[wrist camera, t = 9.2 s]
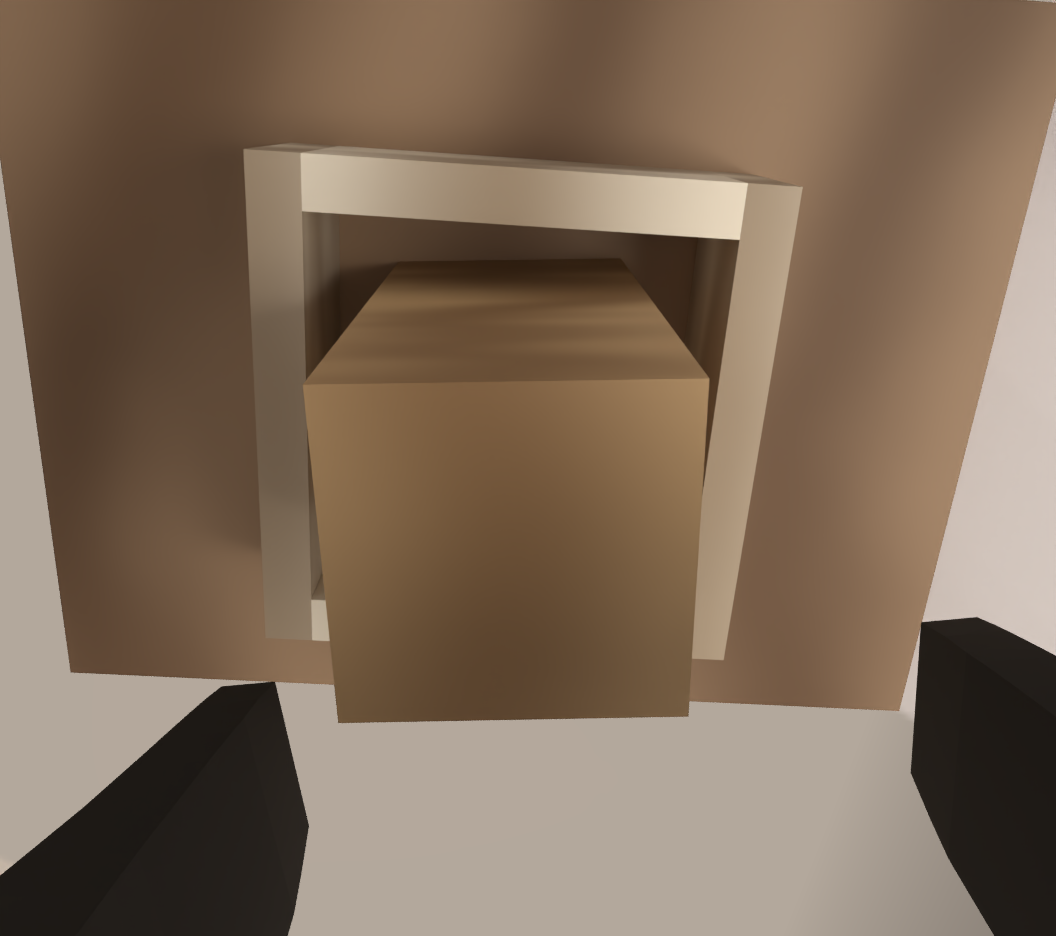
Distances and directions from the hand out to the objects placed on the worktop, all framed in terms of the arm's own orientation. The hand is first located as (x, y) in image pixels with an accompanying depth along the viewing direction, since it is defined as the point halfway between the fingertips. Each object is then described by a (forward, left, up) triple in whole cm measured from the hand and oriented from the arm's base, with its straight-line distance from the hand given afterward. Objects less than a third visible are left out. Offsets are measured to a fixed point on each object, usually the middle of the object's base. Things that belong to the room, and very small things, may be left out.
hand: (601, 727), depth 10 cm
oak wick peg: (+1, -2, -8) cm, 9 cm away
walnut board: (+1, -2, -9) cm, 10 cm away
